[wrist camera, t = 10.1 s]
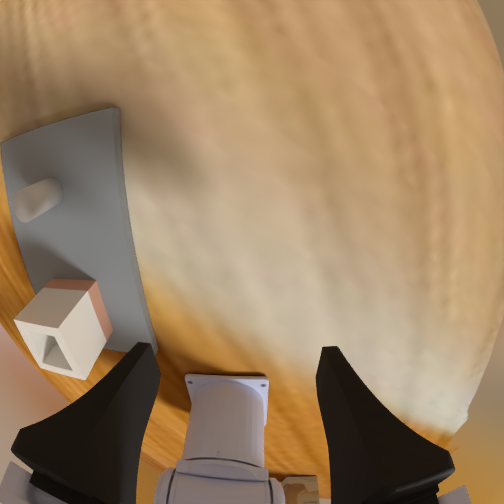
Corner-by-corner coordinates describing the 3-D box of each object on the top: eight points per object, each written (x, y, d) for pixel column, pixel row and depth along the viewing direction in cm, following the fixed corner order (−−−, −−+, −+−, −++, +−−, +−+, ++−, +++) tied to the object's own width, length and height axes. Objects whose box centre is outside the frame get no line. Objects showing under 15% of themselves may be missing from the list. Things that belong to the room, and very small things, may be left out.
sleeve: (113, 330, 22) (85, 380, 16) (70, 324, 22) (40, 367, 16) (96, 280, 20) (57, 328, 14) (52, 278, 20) (13, 319, 14)
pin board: (158, 348, 24) (145, 385, 20) (59, 333, 24) (40, 361, 20) (119, 107, 15) (82, 107, 11) (7, 141, 15) (-29, 151, 11)
